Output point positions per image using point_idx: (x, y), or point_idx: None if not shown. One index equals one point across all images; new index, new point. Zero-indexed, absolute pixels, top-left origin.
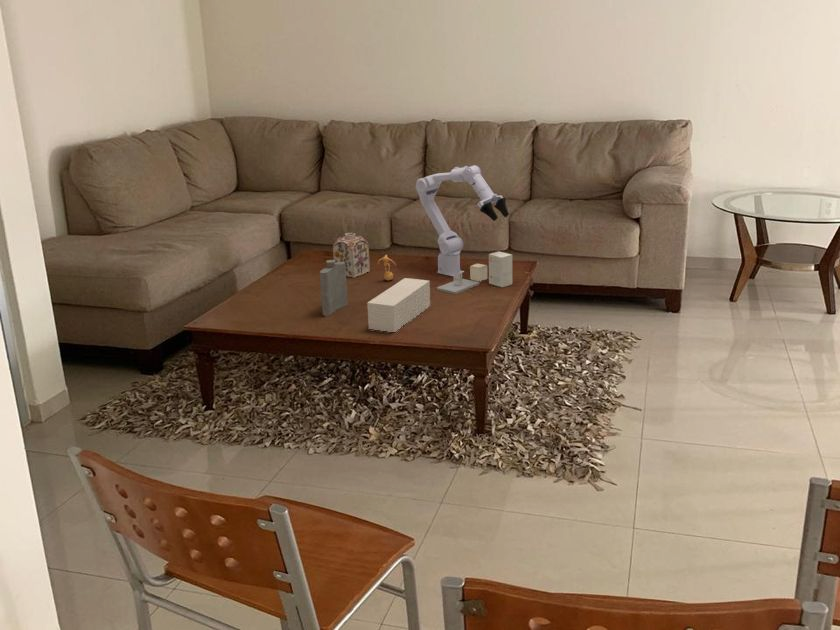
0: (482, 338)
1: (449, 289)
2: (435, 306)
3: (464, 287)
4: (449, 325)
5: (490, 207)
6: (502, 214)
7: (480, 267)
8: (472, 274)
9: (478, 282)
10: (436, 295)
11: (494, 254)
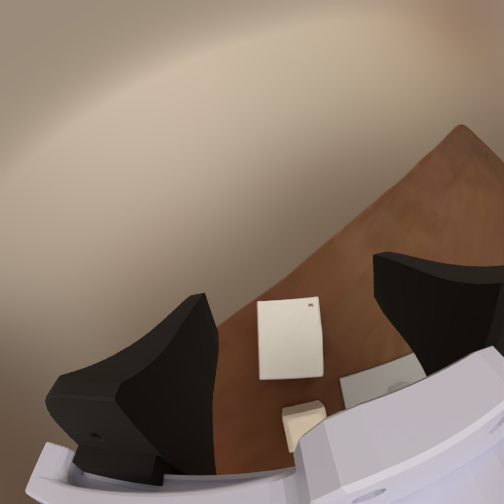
0: (461, 140)
1: None
2: None
3: (398, 363)
4: (490, 200)
5: (481, 269)
6: (216, 365)
7: (317, 411)
8: None
9: (342, 379)
10: None
11: (311, 352)
